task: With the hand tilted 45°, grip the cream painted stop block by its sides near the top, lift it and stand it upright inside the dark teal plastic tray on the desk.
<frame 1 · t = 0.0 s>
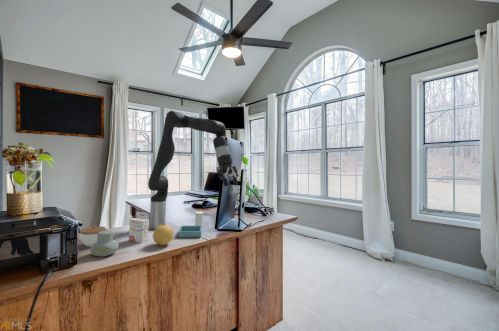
hand: (231, 185, 119), 31 cm above the table, tool tilted 20°, fingers open, 8 cm apart
tray: (190, 234, 137), on the table
air freshener: (104, 254, 104), on the table
lidded jar: (92, 245, 115), on the table
stress ball: (163, 245, 119), on the table
ink cartridge box: (138, 241, 123), on the table
stop block: (198, 227, 153), on the table
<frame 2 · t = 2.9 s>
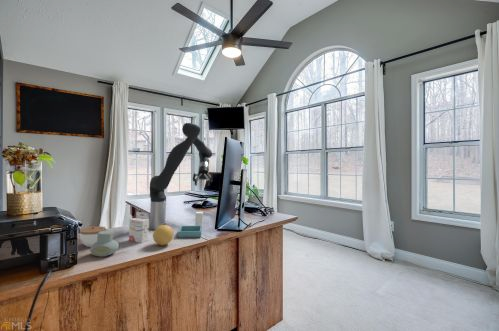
hand: (202, 185, 167), 27 cm above the table, tool tilted 45°, fingers open, 8 cm apart
nothing on the table moved.
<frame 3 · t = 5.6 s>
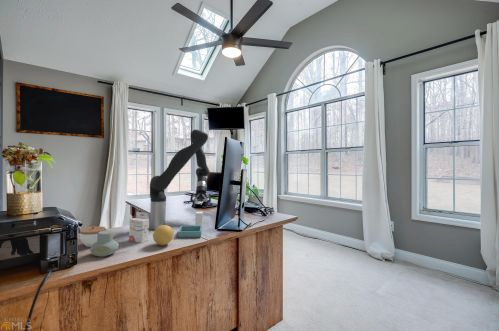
hand: (200, 206, 161), 12 cm above the table, tool tilted 45°, fingers open, 8 cm apart
nothing on the table moved.
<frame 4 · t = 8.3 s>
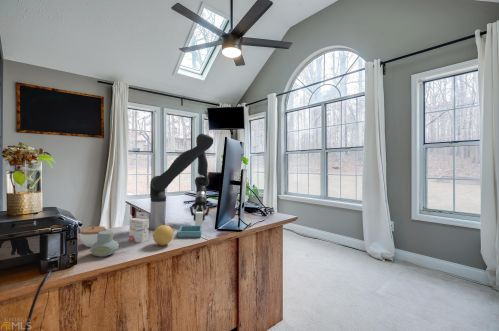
hand: (199, 220, 152), 5 cm above the table, tool tilted 45°, fingers closed on stop block, 4 cm apart
stop block: (198, 227, 153), on the table, touching gripper
everything else where it was.
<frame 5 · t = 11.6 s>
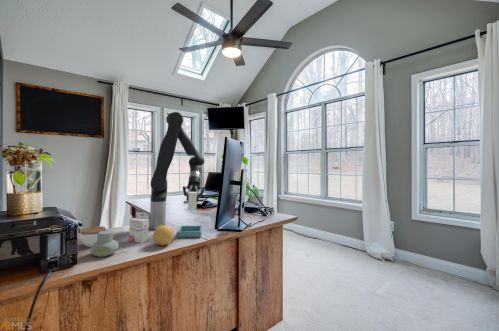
hand: (192, 200, 138), 20 cm above the table, tool tilted 45°, fingers closed on stop block, 4 cm apart
stop block: (192, 208, 139), point 15 cm above the table, touching gripper
everything else where it was.
when the fingers open (7 cm above the table, at t = 14.8 s): stop block drops 1 cm, resting on tray.
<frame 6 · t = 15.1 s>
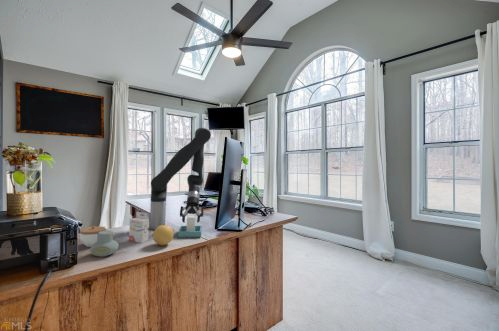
hand: (190, 222, 137), 7 cm above the table, tool tilted 45°, fingers open, 7 cm apart
stop block: (190, 233, 138), point 1 cm above the table, touching tray
everything else where it was.
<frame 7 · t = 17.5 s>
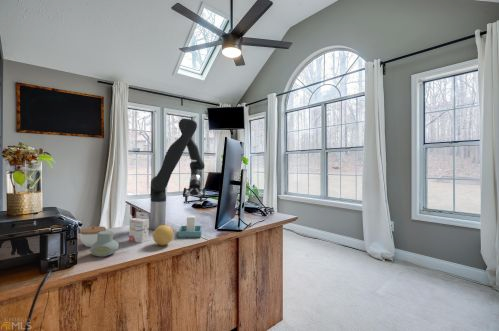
hand: (193, 201, 150), 17 cm above the table, tool tilted 45°, fingers open, 8 cm apart
nothing on the table moved.
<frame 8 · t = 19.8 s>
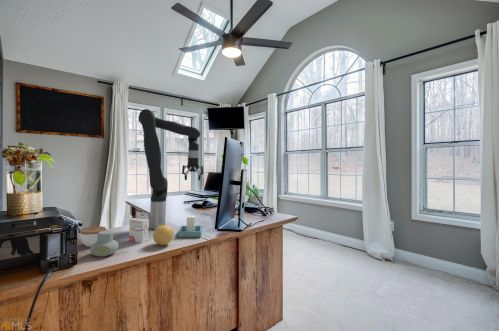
hand: (192, 180, 162), 30 cm above the table, tool pointing down, fingers open, 8 cm apart
nothing on the table moved.
at the end: stop block inside the target area on the tray (0.2 cm from its centre), point 0.6 cm above the tray's base; stop block tilted 0°; the gripper is holding nothing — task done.
